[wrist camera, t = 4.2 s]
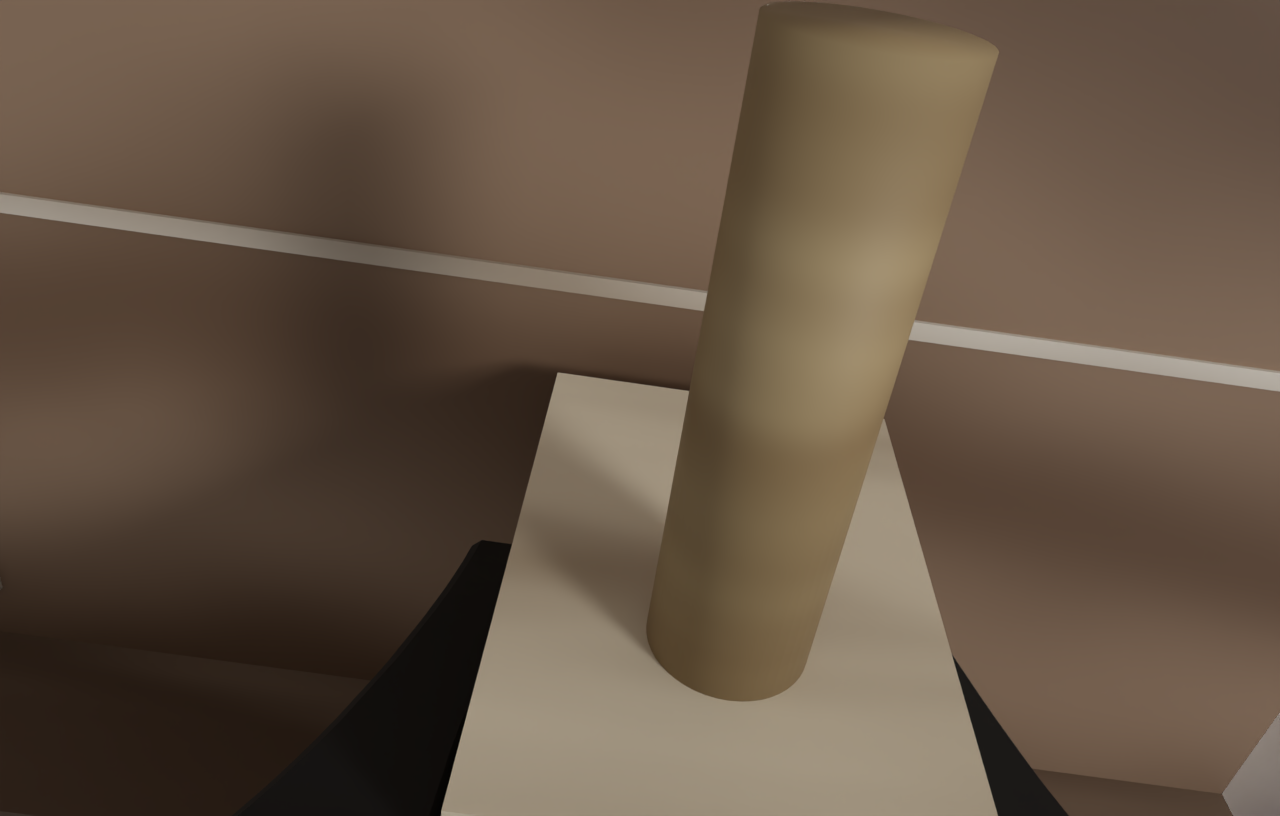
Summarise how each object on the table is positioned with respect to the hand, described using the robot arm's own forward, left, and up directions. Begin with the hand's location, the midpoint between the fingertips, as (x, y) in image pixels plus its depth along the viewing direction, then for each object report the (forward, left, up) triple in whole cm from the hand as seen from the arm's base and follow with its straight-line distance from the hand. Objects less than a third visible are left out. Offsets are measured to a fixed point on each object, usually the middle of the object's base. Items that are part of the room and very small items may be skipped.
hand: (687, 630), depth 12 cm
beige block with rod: (+2, 0, -1) cm, 3 cm away
